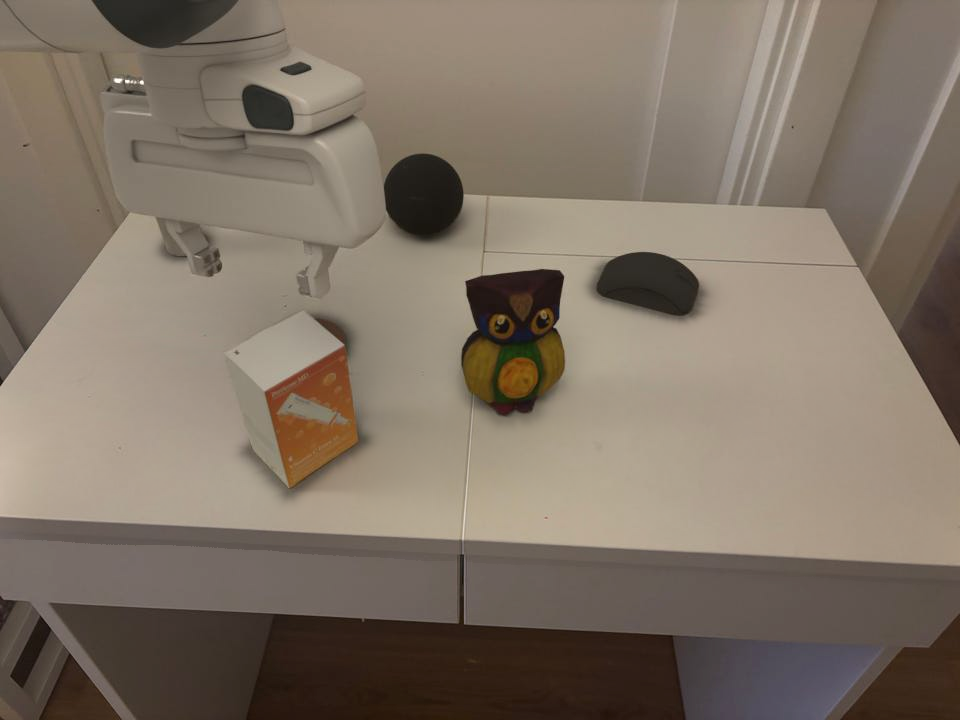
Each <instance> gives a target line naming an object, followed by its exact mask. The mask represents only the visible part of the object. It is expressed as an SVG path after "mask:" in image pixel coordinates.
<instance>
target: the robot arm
mask: <svg viewBox="0 0 960 720" xmlns="http://www.w3.org/2000/svg"><path fill="white" fill-rule="evenodd" d="M0 52H14V53H15V52H16V53H46V54H47V53H50V54H51V53H52V54H85V53H89V54H90V53H91V54H92V53H93V54H135V56H136V59H137V63H138V67H139V71H140V75H141V76H132V75H130V74H125V73H124V74H123V73H122V74H121V73H120V74H115V75H112V76H111V78H110V79H109V81H108V82H106V83H105V85H104V87H103V88H102V92H100V94H99V95H100V96H99V97H100V100H99V101H100V105H101V109H102V111H103V115H104V119H103V127H102V128H103V131H102V132H103V141H104V148H105V154H106V159H107V164H108V165H107V166H108V170H109V175H110V179H111V184H112V187H113V191H114V195H115V197H116V199H117V200H118V201H119V203H120V204H121V205H122V206H123V208H124V209H125V210H126V211H127V212H129V213H130V214H135V215H136V214H137V215H142V216H148V217H154V218H156V217H160V218H164V220H165V224H166V228H167V231H168V232H169V234H170V235H171V236H172V238H173V239H174V240H175V241H176V243H177V244H178V245H179V247H180V248H181V249H182V251H183V252H184V253H185V254H187V256H186V258H187V263H188V266H189V270H190V273H191V274H192V275H194V276H199V277H205V278H212V277H214V276H215V275H216V274H219V273H220V272H221V271H222V270H223V262H222V260H221V253H220V249H219V247H216V246H211V245H210V243H209V242H208V240H207V239H206V237H205V235H204V233H203V231H202V229H201V230H200V228H201V227H200V228H199V227H198V225H197V224H199V225H203V226H209V227H215V228H220V229H221V228H222V229H227V230H233V231H240V232H247V233H251V234H258V235H265V236H270V237H276V238H283V239H289V240H293V241H299V242H302V243H303V249H304V254H305V255H307V256H312V257H311V260H310V262H309V265H307V266H306V267H304V269H302V270H300V271H299V272H297V273H296V274H295V278H296V284H297V285H298V288H297V289H298V293H299V295H300V296H303V297H309V298H313V299H319V300H320V299H321V298H322V299H323V297H324V296H326V295H327V294H328V293H329V292H330V290H331V279H330V272H329V271H330V270H329V268H330V267H331V265H332V263H333V261H334V259H335V257H336V254H337V252H338V250H339V249H340V248H342V249H350V250H351V249H356V248H358V247H360V246H362V245H363V244H364V243H366V242H367V241H368V240H370V239H372V238H373V236H375V235H376V234H377V233H378V232H379V231H380V229H381V228H382V227H383V225H384V223H385V221H386V217H387V211H386V204H385V194H384V180H383V174H382V166H381V161H380V157H379V151H378V147H377V144H376V141H375V137H374V135H373V133H372V131H371V130H370V128H369V126H368V125H367V124H366V122H364V121H363V120H362V119H361V118H359V117H358V116H357V115H355V114H356V113H358V112H360V111H361V110H363V109H364V107H366V102H367V101H366V100H367V99H366V87H365V84H364V81H363V80H362V79H361V78H360V77H359V76H358V75H357V74H355V73H353V72H350V71H349V70H346V69H344V68H342V67H339V66H337V65H335V64H332V63H331V62H328V61H326V60H323V59H321V58H320V57H317V56H316V55H313V54H311V53H309V52H307V51H305V50H303V49H302V48H300V47H298V46H297V45H293V44H290V43H289V42H288V34H287V29H286V22H285V18H284V16H283V13H282V10H281V8H280V6H279V3H278V1H277V0H0Z"/></svg>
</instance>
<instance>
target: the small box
mask: <svg viewBox="0 0 960 720" xmlns="http://www.w3.org/2000/svg"><path fill="white" fill-rule="evenodd" d="M314 318H315V317H313V316H312V315H311V314H310V313H308V312H307V311H306V310H300V311H299V312H296V313H295V314H292V315H291V316H289V317H287V318H285V319H283V320H281V321H280V322H277V323H276V324H274V325H271V326H269V327H267V328H264V329H263V330H261V331H260V332H258V333H256V334H254V335H253V336H251V337H249V338H248V339H246V340H244V341H242V342H240V343H238V344H237V345H235V346H233V347H231V348H229V349H227V350H226V351H223V353H222V354H223V357H224V361H225V364H226V368H227V370H228V373H229V377H230V380H231V383H232V387H233V390H234V393H235V396H236V400H237V402H238V403H237V404H238V407H239V410H240V413H241V417H242V420H243V424H244V426H245V429H246V432H247V435H248V439H249V442H250V445H251V448H252V450H253V452H254V453H255V454H256V455H257V456H258V457H259V458H260V459H261V460H262V461H263V462H264V463H265V464H266V465H267V467H269V469H270V470H271V471H272V472H273V473H275V475H276V476H277V477H278V478H279V479H280V481H282V483H284V484H285V486H286V487H287V488H288V489H292V488H293V487H294V486H295V485H298V483H299V482H301V481H302V480H304V479H305V478H307V477H308V476H310V475H311V474H312V473H314V472H315V471H317V470H318V469H320V468H321V467H323V466H325V465H326V464H327V463H329V462H330V461H332V460H333V459H335V458H336V457H338V456H340V455H341V454H342V453H344V452H346V451H347V450H349V449H350V448H352V447H353V446H355V445H356V444H358V443H359V433H358V427H357V420H356V419H357V418H356V413H355V405H354V400H353V399H354V398H353V391H352V386H351V379H350V371H349V363H348V356H347V349H346V344H345V345H344V344H343V343H342V342H341V341H339V340H338V339H337V338H336V337H335V336H333V335H332V334H331V333H330V332H329V331H328V330H326V329H325V328H324V327H323V326H322V325H321V324H320V323H318V322H317V321H316V320H315V319H314Z"/></svg>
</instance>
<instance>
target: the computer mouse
mask: <svg viewBox="0 0 960 720" xmlns="http://www.w3.org/2000/svg"><path fill="white" fill-rule="evenodd" d="M699 289H700V281H699V279H698V277H697V276H696V274H694V272H693V271H692V270H691V269H690V268H689V267H688V266H687V265H685V264H684V263H682V262H681V261H679V260H677V259H676V258H673V257H671V256H669V255H666V254H662V253H657V252H652V251H634V252H629V253H624V254H621V255H619V256H617V257H614V258H612V259H610V260H609V261H608V262H607V263H605V267H604V268H603V270H602V272H601V275H600V277H599V279H598V281H597V283H596V292H597V293H598V295H600V296H602V297H605V298H606V299H607V298H608V299H612V300H615V301H619V302H621V303H622V302H623V303H626V304H627V303H628V304H631V305H634V306H638V307H642V308H646V309H650V310H653V311H657V312H661V313H665V314H668V315H674V316H685V315H687V314H688V313H690V312H691V311H692V310H693V307H694V305H695V301H696V298H697V296H698V291H699Z"/></svg>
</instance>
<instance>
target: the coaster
mask: <svg viewBox="0 0 960 720" xmlns="http://www.w3.org/2000/svg"><path fill="white" fill-rule="evenodd" d="M313 318H314V319H315V320H316V321H317V322H318V323H320V324H321V325H322V326H323V327H324V328H325V329H326V330H328V331H329V332H330V333H331V334H332V335H333V336H335V337H336V338H337V339H338V340H339V341H341V342H342V343H343V344H344V345H345V346H346V337H345V333H344V331H343V330H342V328H341V327H340V326H339V325H337V324H336V323H335V322H333V321H331V320H328V319H325V318H320V317H319V318H318V317H313Z"/></svg>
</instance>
